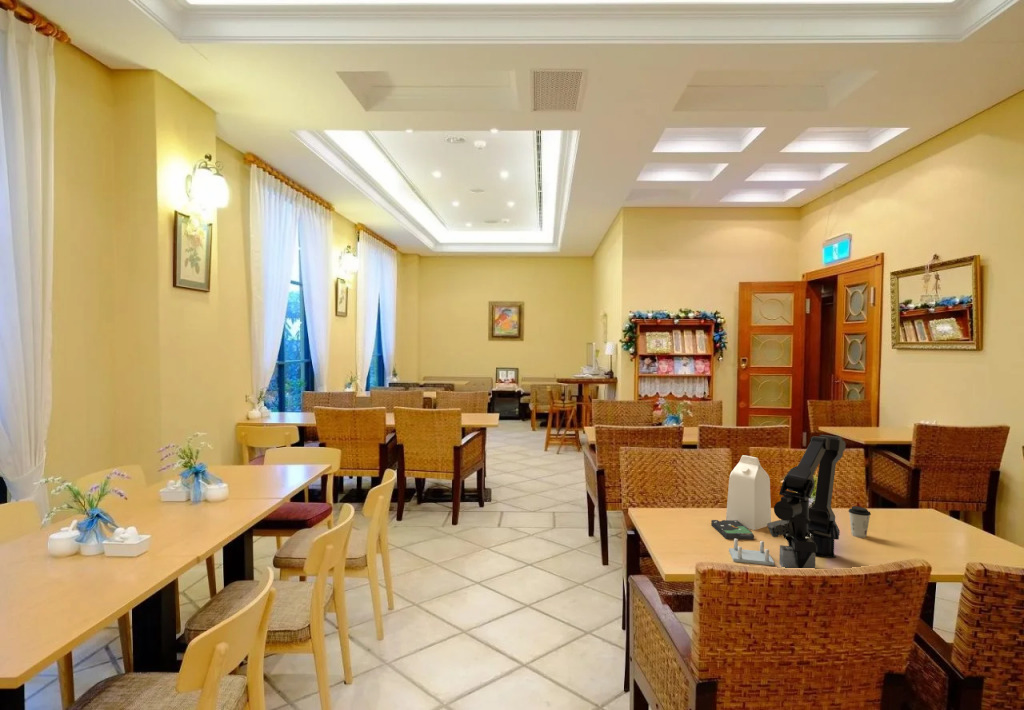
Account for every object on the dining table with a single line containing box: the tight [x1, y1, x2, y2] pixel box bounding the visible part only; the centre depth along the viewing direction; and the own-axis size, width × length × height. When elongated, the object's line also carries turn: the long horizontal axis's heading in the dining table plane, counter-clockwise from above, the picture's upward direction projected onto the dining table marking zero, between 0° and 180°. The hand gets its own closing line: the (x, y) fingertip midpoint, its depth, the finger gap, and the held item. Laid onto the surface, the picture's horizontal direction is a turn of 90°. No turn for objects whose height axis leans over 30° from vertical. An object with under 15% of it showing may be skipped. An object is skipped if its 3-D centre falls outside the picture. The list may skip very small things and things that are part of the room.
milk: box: [725, 454, 772, 531], centre depth 209 cm, size 12×12×26 cm
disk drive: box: [710, 519, 755, 541], centre depth 199 cm, size 10×3×15 cm
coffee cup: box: [848, 505, 872, 538], centre depth 197 cm, size 7×7×10 cm
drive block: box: [778, 544, 817, 569], centre depth 167 cm, size 9×4×6 cm, turn 76°
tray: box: [728, 539, 775, 566], centre depth 174 cm, size 12×9×4 cm
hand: (797, 563), depth 167 cm, fingers open, 7 cm apart
